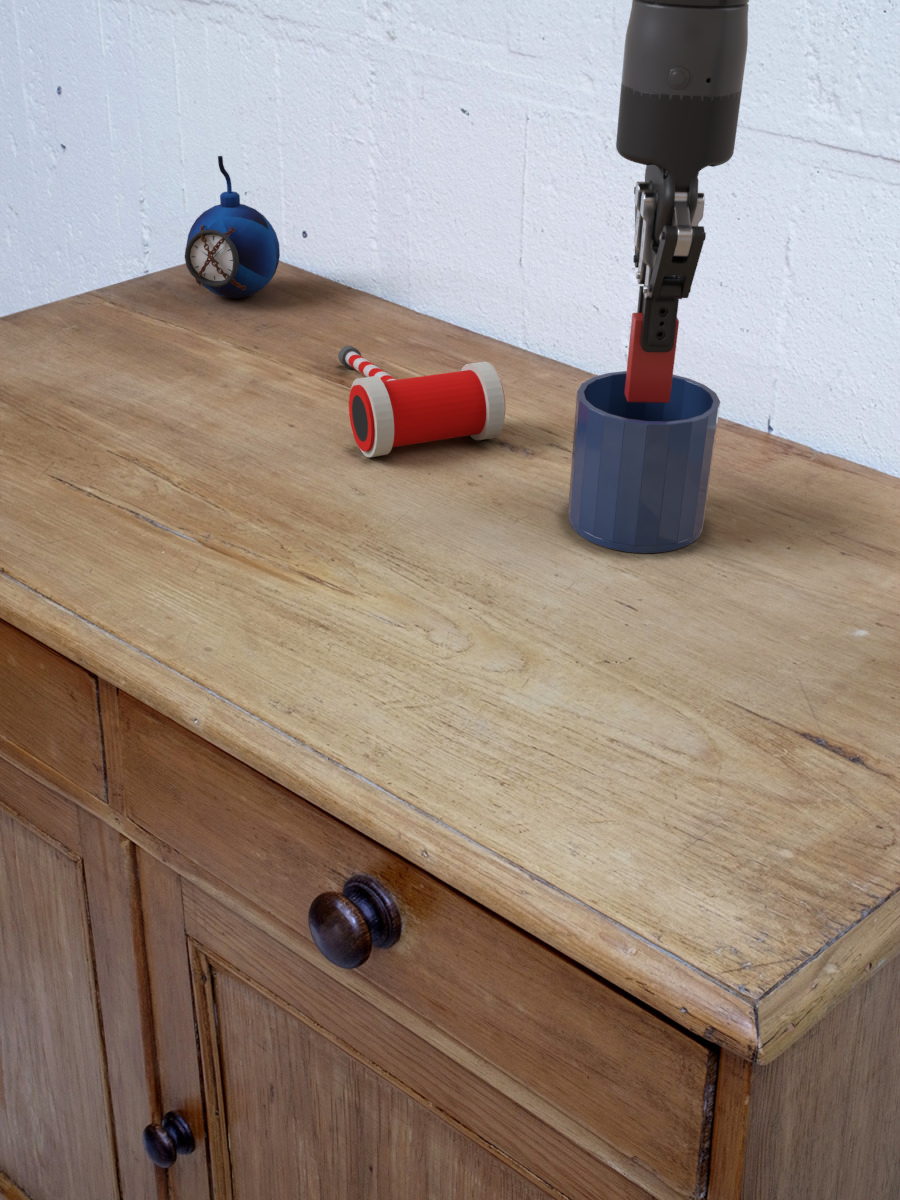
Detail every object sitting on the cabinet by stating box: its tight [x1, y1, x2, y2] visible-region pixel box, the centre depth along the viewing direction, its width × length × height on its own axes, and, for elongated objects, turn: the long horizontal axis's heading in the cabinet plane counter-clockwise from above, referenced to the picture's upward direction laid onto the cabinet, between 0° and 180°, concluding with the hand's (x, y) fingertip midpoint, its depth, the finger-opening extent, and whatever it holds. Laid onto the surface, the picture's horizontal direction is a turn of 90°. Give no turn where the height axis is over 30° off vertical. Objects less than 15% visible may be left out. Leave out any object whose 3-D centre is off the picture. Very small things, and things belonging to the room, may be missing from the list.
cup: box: [567, 370, 721, 554], centre depth 96 cm, size 10×10×10 cm
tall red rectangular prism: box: [625, 274, 680, 403], centre depth 91 cm, size 3×2×9 cm, turn 91°
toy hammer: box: [337, 345, 506, 458], centre depth 114 cm, size 23×12×6 cm, turn 24°
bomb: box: [184, 155, 281, 299], centre depth 138 cm, size 10×11×15 cm
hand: (653, 343), depth 91 cm, fingers closed on tall red rectangular prism, 1 cm apart
